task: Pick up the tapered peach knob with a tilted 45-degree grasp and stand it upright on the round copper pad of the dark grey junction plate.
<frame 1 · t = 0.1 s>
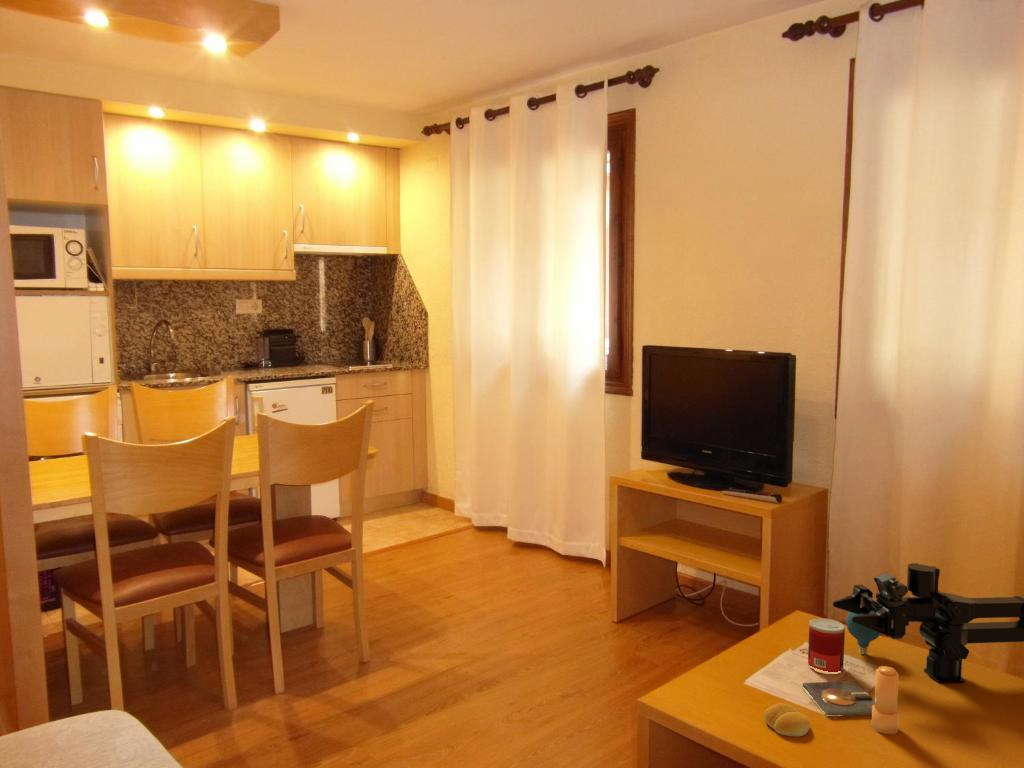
hand: (842, 611, 179), 17 cm above the table, tool horizontal, fingers open, 9 cm apart
bread roll: (786, 727, 161), on the table
tapered peach knob: (884, 727, 160), on the table
canned food: (825, 668, 187), on the table
light bulb: (862, 654, 194), on the table
junction plate: (840, 701, 171), on the table
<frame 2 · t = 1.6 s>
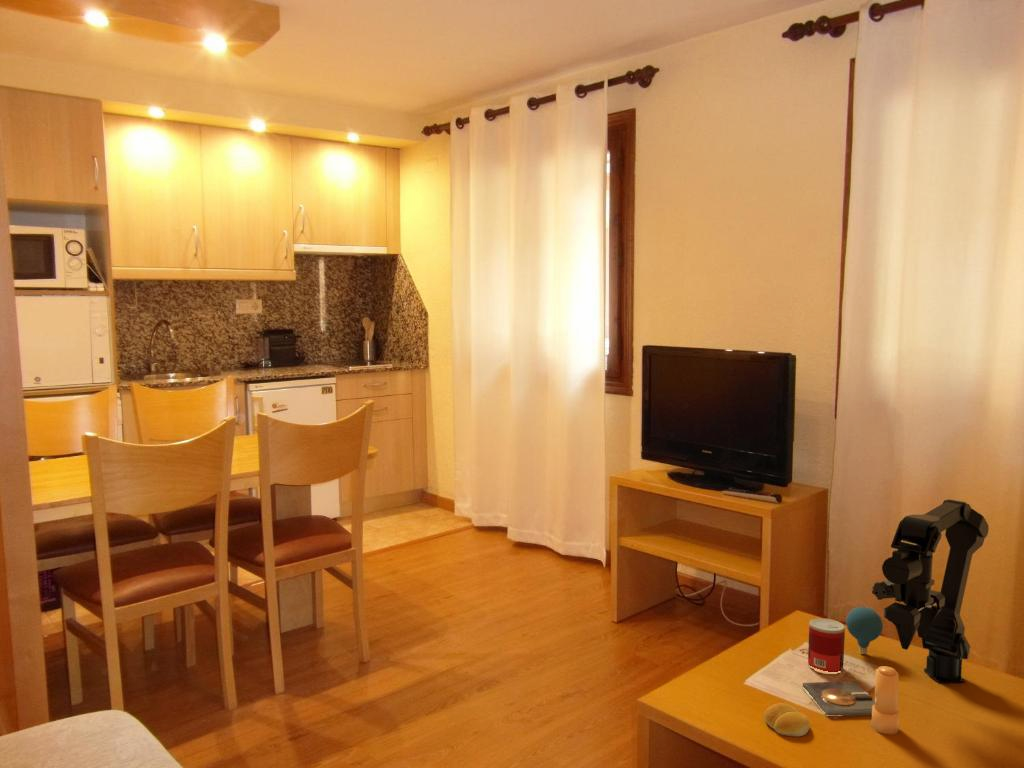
hand: (912, 643, 170), 13 cm above the table, tool pointing down, fingers open, 9 cm apart
nothing on the table moved.
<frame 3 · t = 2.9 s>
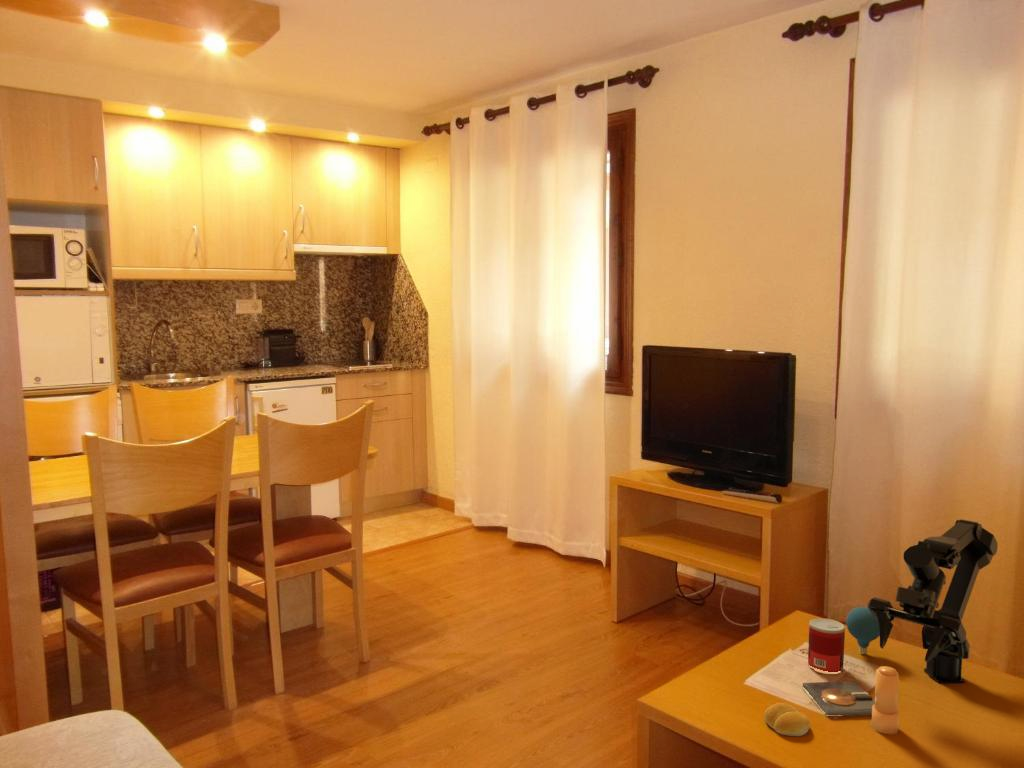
hand: (903, 654, 164), 13 cm above the table, tool tilted 45°, fingers open, 9 cm apart
nothing on the table moved.
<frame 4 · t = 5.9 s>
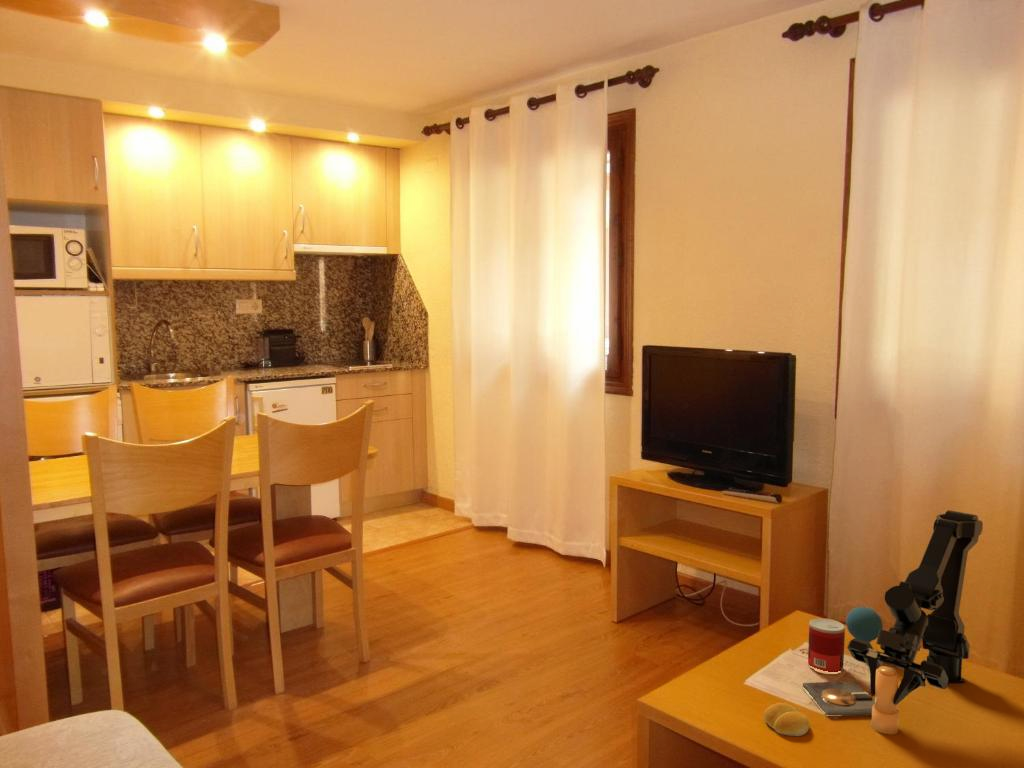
hand: (883, 699, 158), 7 cm above the table, tool tilted 45°, fingers closed on tapered peach knob, 4 cm apart
tapered peach knob: (884, 727, 160), on the table, touching gripper
everything else where it was.
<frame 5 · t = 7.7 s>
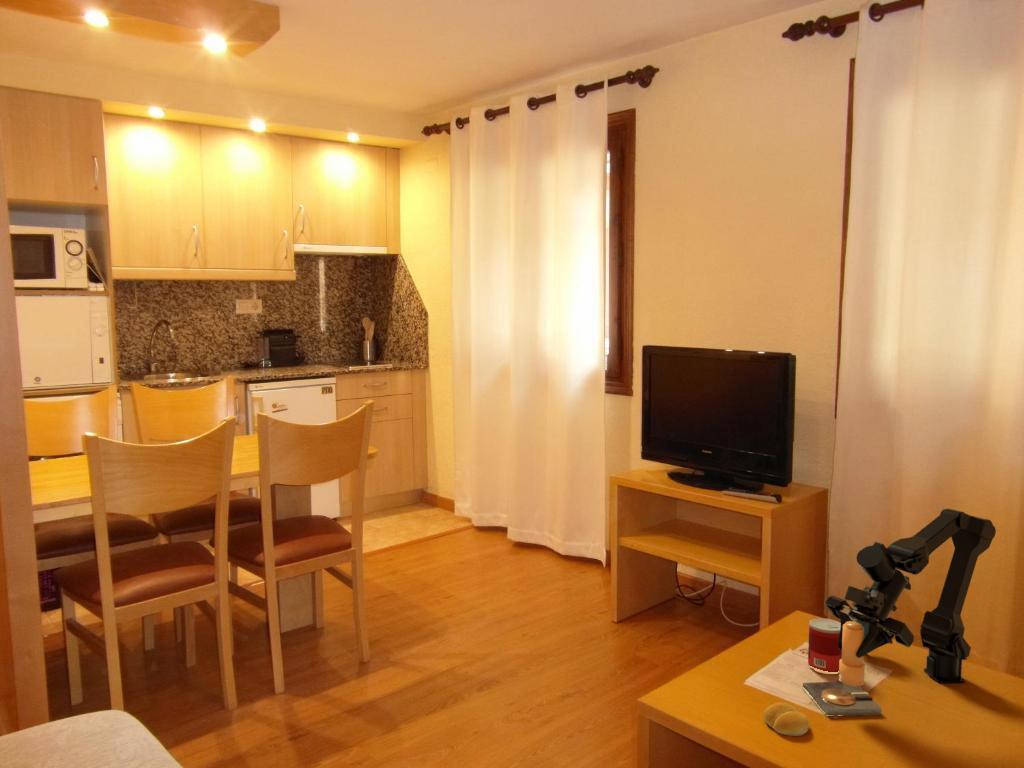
hand: (848, 652, 165), 13 cm above the table, tool tilted 45°, fingers closed on tapered peach knob, 4 cm apart
tapered peach knob: (851, 680, 166), point 7 cm above the table, touching gripper
everything else where it was.
when the fingers open (9 cm above the table, at t = 9.3 s): tapered peach knob stays where it is, resting on junction plate.
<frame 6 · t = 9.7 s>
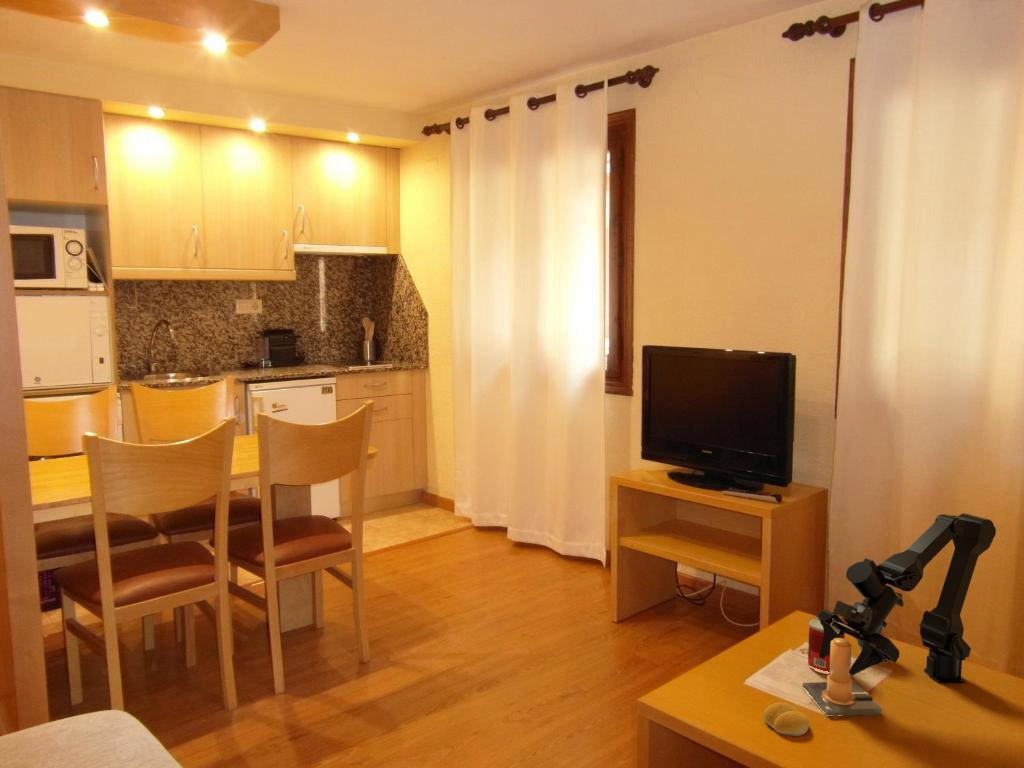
hand: (835, 665, 168), 9 cm above the table, tool tilted 45°, fingers open, 8 cm apart
tapered peach knob: (838, 696, 169), point 2 cm above the table, touching junction plate
everything else where it was.
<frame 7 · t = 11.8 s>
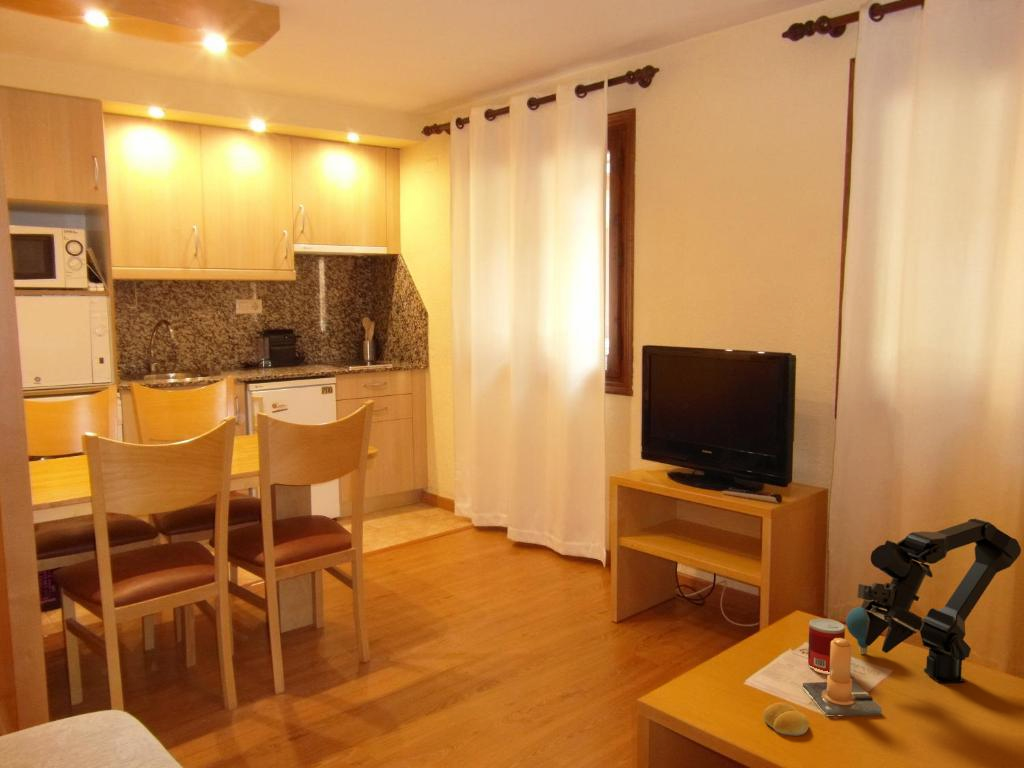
hand: (875, 648, 173), 11 cm above the table, tool tilted 30°, fingers open, 9 cm apart
nothing on the table moved.
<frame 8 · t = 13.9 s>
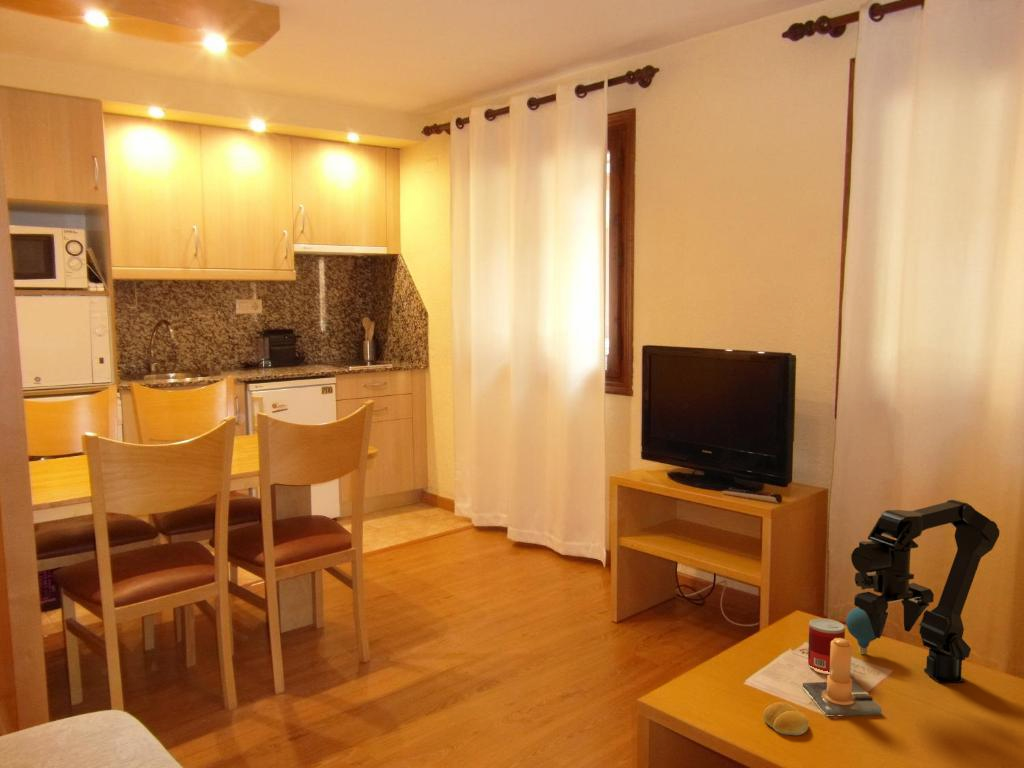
hand: (892, 634, 175), 13 cm above the table, tool pointing down, fingers open, 9 cm apart
nothing on the table moved.
at the end: tapered peach knob 0.0 cm from the target spot on the junction plate, point 1.8 cm above the junction plate's base; tapered peach knob tilted 0°; the gripper is holding nothing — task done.
